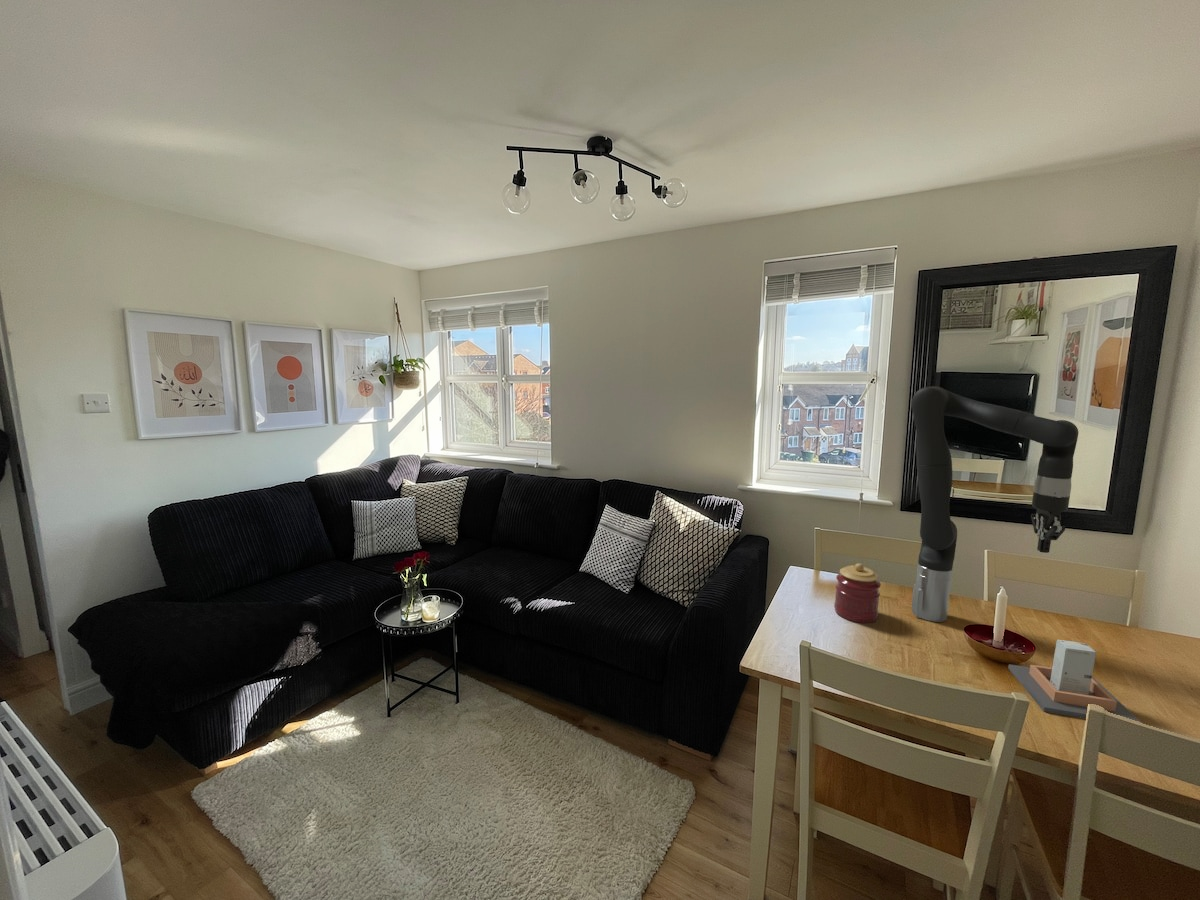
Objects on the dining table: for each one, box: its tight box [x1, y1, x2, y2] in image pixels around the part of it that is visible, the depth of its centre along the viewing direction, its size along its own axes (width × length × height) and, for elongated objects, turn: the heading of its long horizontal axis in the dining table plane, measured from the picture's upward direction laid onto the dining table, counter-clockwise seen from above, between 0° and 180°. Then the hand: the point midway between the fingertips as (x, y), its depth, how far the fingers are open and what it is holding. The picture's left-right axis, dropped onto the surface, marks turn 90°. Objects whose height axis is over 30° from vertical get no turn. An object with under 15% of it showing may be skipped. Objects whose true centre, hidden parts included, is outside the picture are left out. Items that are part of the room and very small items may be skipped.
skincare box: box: [1050, 639, 1097, 695], centre depth 121 cm, size 6×4×12 cm
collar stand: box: [1007, 663, 1142, 722], centre depth 121 cm, size 18×18×4 cm
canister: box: [833, 562, 881, 624], centre depth 162 cm, size 13×13×18 cm
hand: (1043, 551), depth 139 cm, fingers closed
